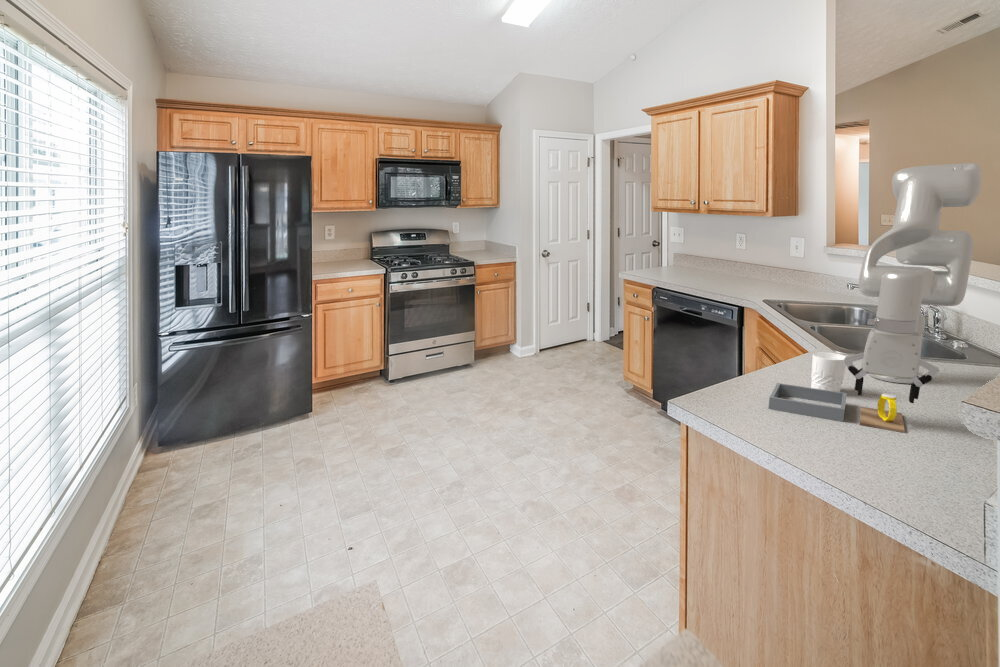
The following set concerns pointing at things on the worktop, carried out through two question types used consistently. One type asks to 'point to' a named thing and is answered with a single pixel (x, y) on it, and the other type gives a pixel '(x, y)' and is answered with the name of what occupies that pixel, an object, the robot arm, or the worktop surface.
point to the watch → (892, 407)
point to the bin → (805, 407)
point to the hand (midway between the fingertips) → (884, 397)
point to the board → (880, 420)
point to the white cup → (827, 371)
